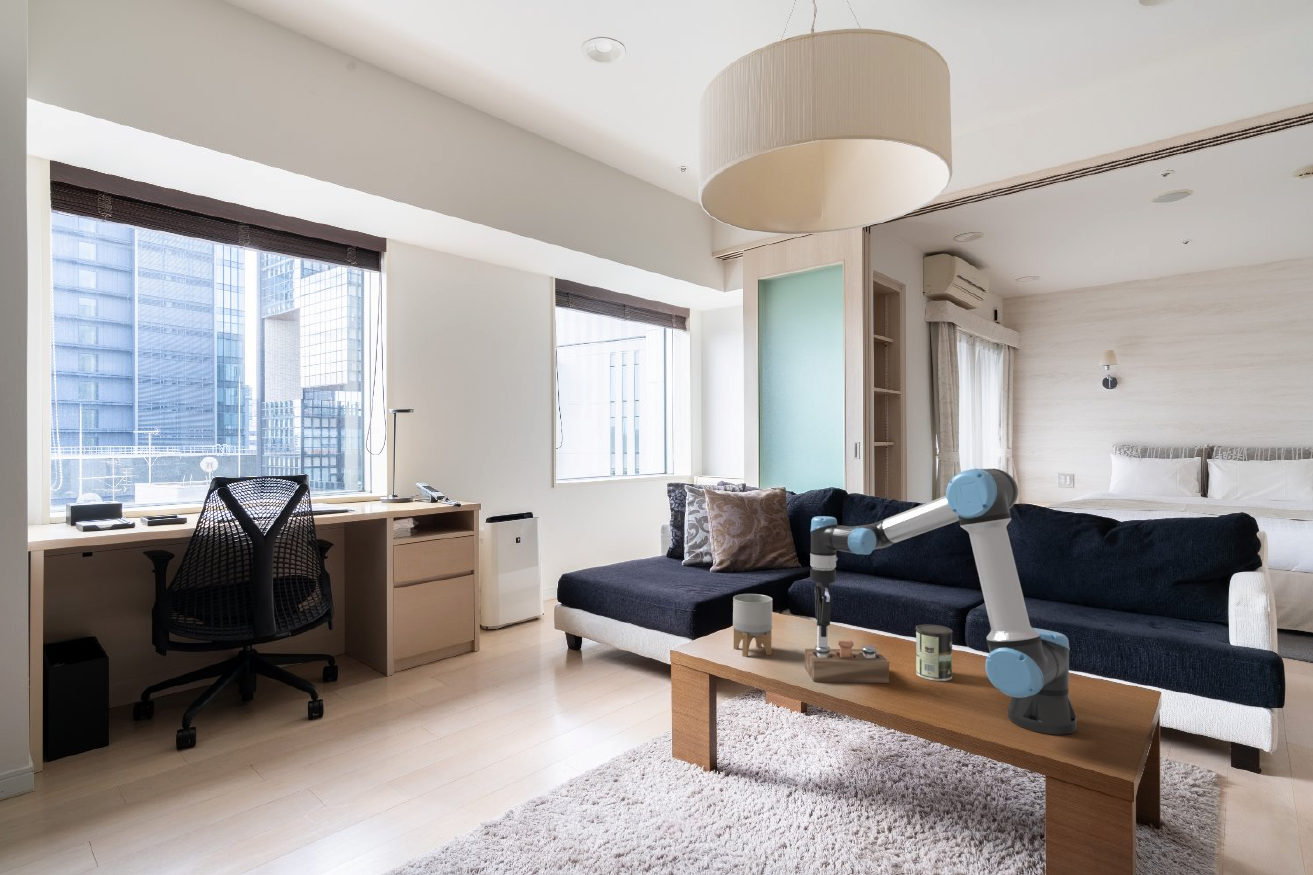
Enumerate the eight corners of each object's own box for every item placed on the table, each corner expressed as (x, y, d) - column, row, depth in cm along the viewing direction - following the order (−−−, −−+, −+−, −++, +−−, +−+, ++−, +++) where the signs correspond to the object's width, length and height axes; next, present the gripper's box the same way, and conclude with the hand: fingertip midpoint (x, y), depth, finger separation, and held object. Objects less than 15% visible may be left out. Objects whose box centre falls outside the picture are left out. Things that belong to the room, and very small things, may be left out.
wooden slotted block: (889, 682, 196) (889, 661, 196) (813, 681, 196) (813, 661, 196) (875, 668, 208) (875, 649, 208) (804, 667, 208) (804, 648, 208)
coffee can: (948, 671, 206) (948, 625, 207) (955, 682, 196) (956, 634, 196) (912, 668, 208) (913, 622, 209) (918, 679, 198) (919, 632, 198)
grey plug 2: (878, 674, 199) (878, 650, 200) (863, 674, 199) (864, 649, 200) (873, 669, 204) (874, 645, 204) (859, 669, 204) (859, 645, 204)
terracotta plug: (855, 668, 199) (855, 643, 200) (840, 668, 199) (840, 643, 200) (850, 663, 204) (851, 639, 204) (836, 663, 204) (836, 639, 204)
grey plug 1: (831, 673, 199) (831, 649, 200) (816, 673, 199) (817, 649, 200) (827, 668, 204) (828, 645, 204) (813, 668, 204) (813, 644, 204)
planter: (742, 643, 233) (742, 592, 233) (777, 649, 226) (778, 596, 226) (726, 653, 221) (726, 599, 222) (763, 660, 215) (763, 604, 215)
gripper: (841, 572, 195) (840, 653, 195) (830, 564, 208) (829, 640, 208) (815, 572, 195) (814, 653, 195) (806, 563, 209) (805, 639, 208)
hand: (822, 646), depth 202 cm, fingers closed
